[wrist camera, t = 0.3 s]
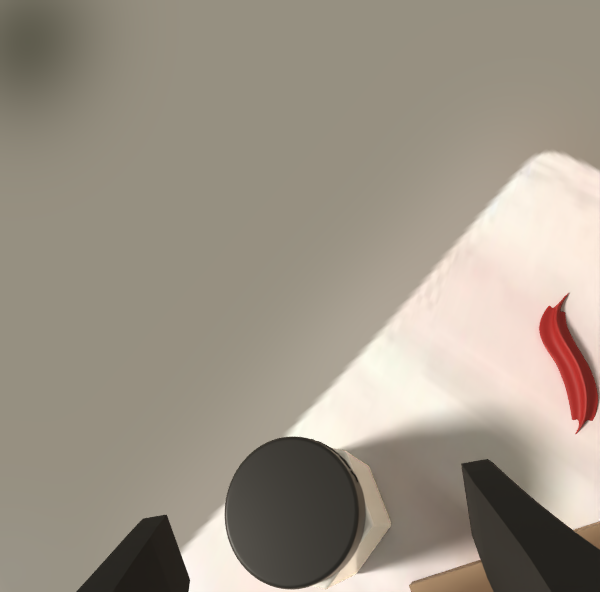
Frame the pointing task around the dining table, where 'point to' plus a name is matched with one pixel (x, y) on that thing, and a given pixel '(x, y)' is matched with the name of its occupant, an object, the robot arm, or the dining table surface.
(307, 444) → the jar
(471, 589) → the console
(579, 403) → the cayenne pepper
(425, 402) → the dining table surface
